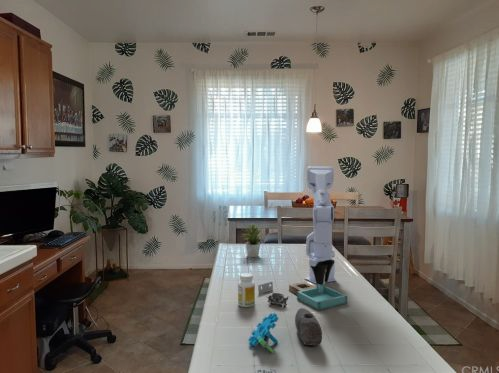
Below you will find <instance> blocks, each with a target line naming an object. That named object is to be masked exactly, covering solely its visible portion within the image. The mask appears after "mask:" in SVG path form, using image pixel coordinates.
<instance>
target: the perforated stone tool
mask: <svg viewBox="0 0 499 373" xmlns="http://www.w3.org/2000/svg"><path fill="white" fill-rule="evenodd" d="M294 316H295V317H294V318H295V319H294V323H295V328H296V331H297V332H298V335H299V337H300V339H301V341H302V342H303V343H304V345H306V346H315V347H317V346H319V345H321V343H322V342H323V341H322V340H323V331H322V326H321V324H320V323H319V320H318V319H317V317H316V316H315V315H314V314H313V313H312V312H311V311H310V310H308V309H306V308H303V307H301V308H299V309H297V311H296V313H295V315H294Z"/></svg>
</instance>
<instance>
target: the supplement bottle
mask: <svg viewBox="0 0 499 373" xmlns="http://www.w3.org/2000/svg"><path fill="white" fill-rule="evenodd" d="M253 276H254V275H253V274H252V273H247V272H244V273H243V272H242V273H241V274H240V277H239V279H240V280H239V281H238V283H237V294H238V295H237V304H238V306H240V307H243V308H249V307H250V308H251V307H253V306H254V305H255V304H256V299H255V298H256V296H255V294H256V293H255V289H256V286H255V285H256V284H255V281H254V280H253Z"/></svg>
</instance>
